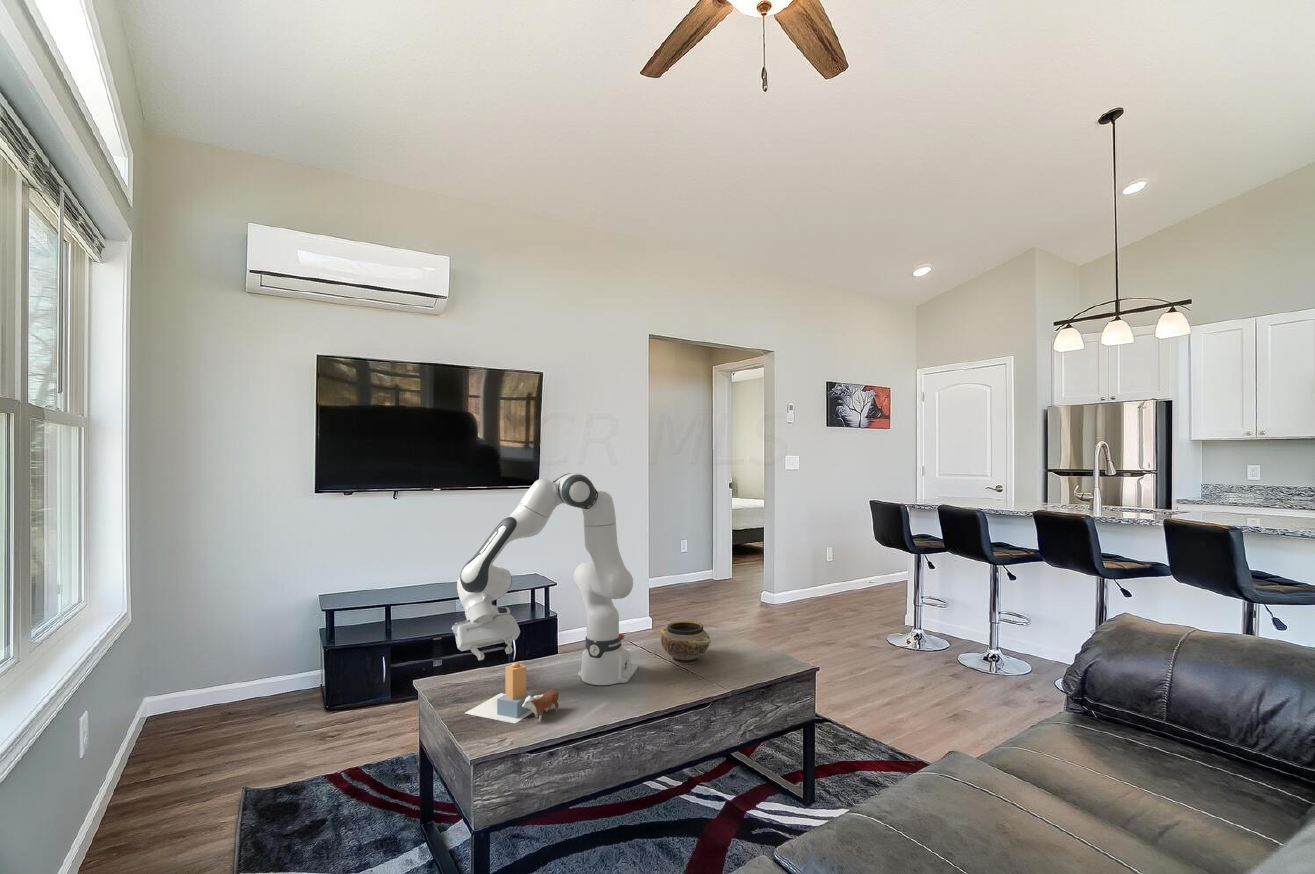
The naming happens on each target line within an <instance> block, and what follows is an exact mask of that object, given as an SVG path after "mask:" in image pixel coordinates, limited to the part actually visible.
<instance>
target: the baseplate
mask: <svg viewBox="0 0 1315 874" xmlns="http://www.w3.org/2000/svg"><path fill="white" fill-rule="evenodd" d="M503 695H505V693H502V692H500V693H499V694H496V695H495V696H493V697H491V698H490V699H489V698H488V700H485V701H483V702H481V703H480V704H479V705H476V706H475V707H473V708H471V709H469V710H467V711H466V712H464V714H465V715H466V714H467V715H471V716H476V717H481V718H486V719H491V720H495V721H501V722H505V723H510V724H517V723H518V722H520V721H521V720H523V719H524V718H526V717H528V716H529V715H531V714H533V712H532V711H531V710H530V711H528V712H527V713H525V714H523V715H522V716H520V717H519V718H512V717H507V716H502V715H497V699H498V698H500V697H502V696H503Z"/></svg>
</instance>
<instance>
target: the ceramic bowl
mask: <svg viewBox="0 0 1315 874" xmlns="http://www.w3.org/2000/svg"><path fill="white" fill-rule="evenodd" d="M659 634H660V635H661V638H660V640H661V641H660V642H661V643H660V644H661V646H662V648H663V649H664V651H665V652H666V653H667V654H668V655H669V656H670V657H672V660H673V662H674V663H677V664H681V665H692V664H695V663H697V662H698V661H699V657H701V656H702V655H704V654H705V653H706V651H707V650H708V648H709V646H710V644H711V642H712V641H711V639H710V635H709V634H708V632H707V631H706V630H705V629H704V624H702V623H701V622H698V621H694V620H693V621H692V620H678V621H674V622H671V623H668V624H667V626H665V627H663V628H661V629H660V631H659Z"/></svg>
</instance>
